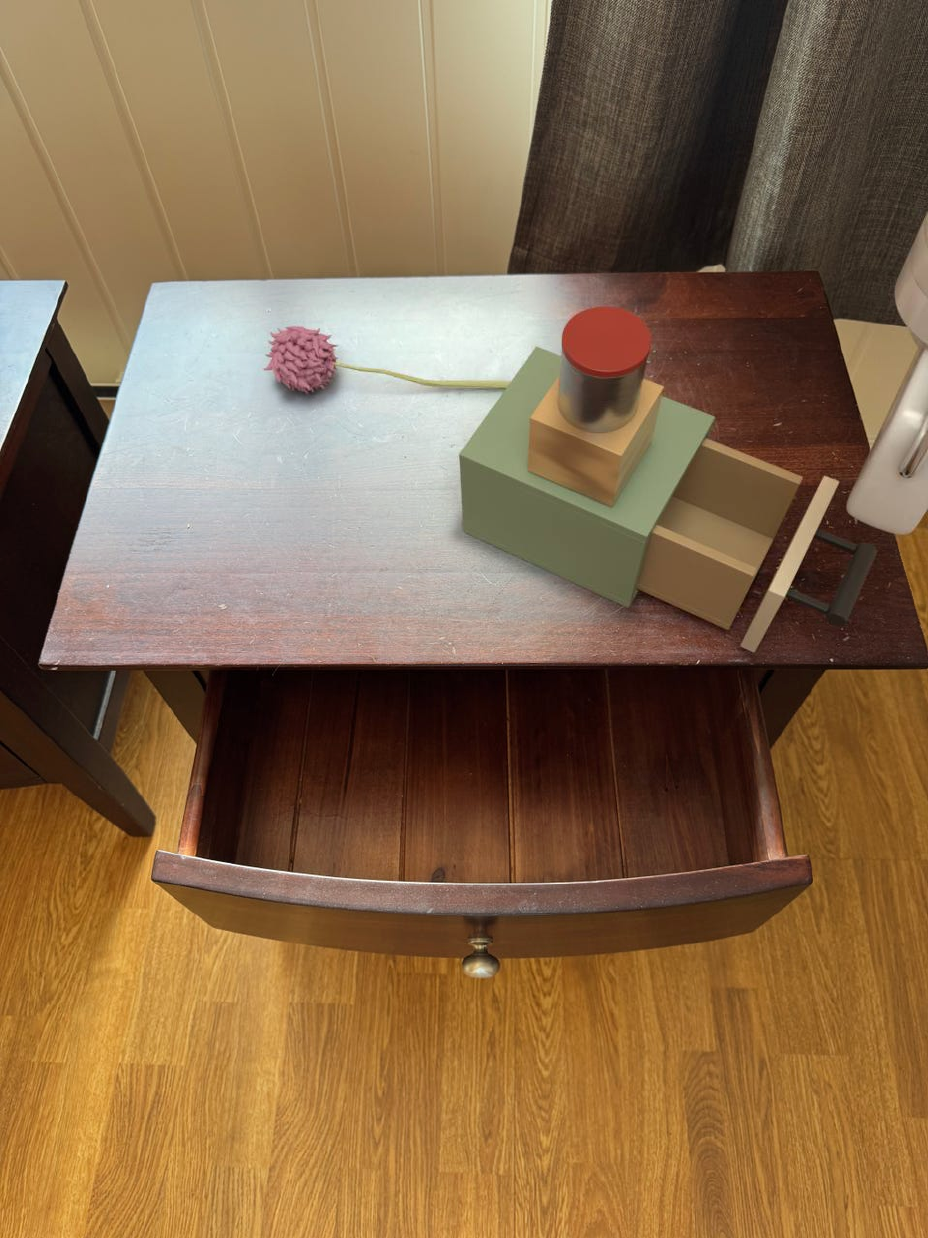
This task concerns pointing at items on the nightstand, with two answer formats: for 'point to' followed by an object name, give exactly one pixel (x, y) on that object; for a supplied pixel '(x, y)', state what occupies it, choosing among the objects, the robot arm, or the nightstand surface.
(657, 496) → the cabinet
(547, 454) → the riser
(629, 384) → the tin
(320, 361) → the artificial flower
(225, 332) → the nightstand surface
